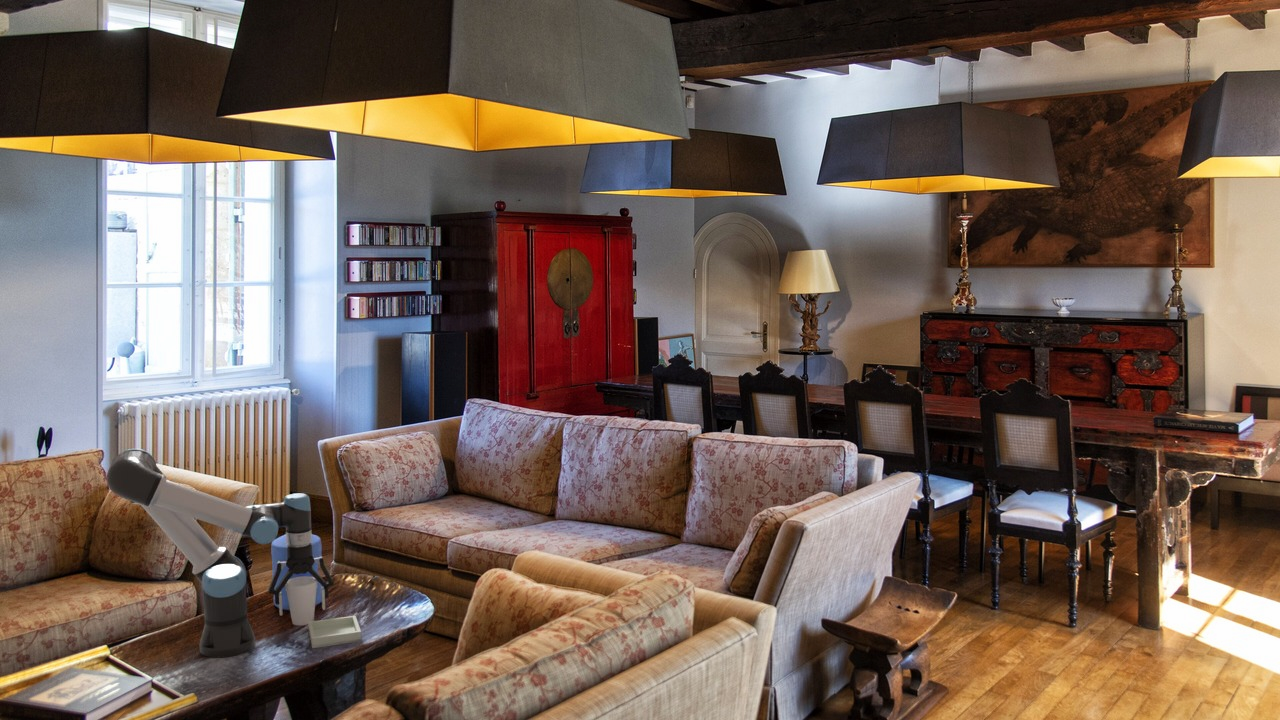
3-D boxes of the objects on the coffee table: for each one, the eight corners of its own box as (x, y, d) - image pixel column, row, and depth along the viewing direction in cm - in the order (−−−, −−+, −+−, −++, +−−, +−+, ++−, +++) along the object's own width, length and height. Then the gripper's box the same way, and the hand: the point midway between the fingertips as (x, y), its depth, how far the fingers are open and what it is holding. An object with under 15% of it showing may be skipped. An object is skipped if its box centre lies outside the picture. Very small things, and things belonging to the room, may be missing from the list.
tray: (312, 648, 310) (311, 638, 310) (308, 631, 323) (308, 621, 323) (361, 641, 315) (361, 631, 315) (355, 624, 328) (355, 615, 328)
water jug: (263, 607, 343) (258, 523, 340) (296, 591, 358) (292, 510, 354) (301, 613, 337) (297, 528, 334) (334, 597, 352) (330, 515, 348)
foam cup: (312, 627, 326) (310, 586, 324) (282, 627, 326) (280, 586, 325) (322, 615, 336) (320, 576, 334) (293, 615, 336) (291, 576, 334)
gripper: (258, 551, 320) (261, 620, 323) (341, 542, 329) (343, 609, 331) (257, 544, 327) (260, 612, 330) (338, 536, 336) (341, 601, 338)
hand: (302, 611), depth 331 cm, fingers open, 12 cm apart
